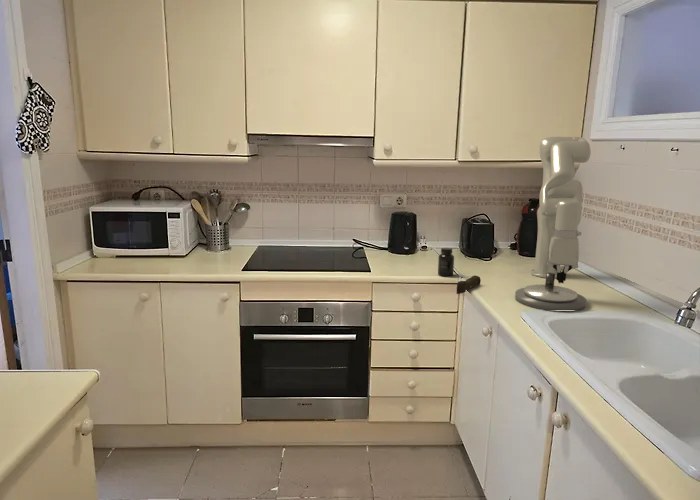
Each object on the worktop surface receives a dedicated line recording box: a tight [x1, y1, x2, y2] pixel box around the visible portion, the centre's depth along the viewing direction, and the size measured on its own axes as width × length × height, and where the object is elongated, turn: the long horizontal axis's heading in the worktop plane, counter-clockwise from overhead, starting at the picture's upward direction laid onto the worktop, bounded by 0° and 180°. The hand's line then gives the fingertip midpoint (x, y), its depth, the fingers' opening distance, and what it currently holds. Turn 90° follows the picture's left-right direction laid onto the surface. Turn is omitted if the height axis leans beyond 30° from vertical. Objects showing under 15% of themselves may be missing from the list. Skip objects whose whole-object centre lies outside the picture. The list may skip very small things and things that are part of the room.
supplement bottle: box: [437, 247, 455, 278], centre depth 210 cm, size 7×7×12 cm
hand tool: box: [456, 275, 482, 295], centre depth 189 cm, size 19×4×5 cm, turn 141°
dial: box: [523, 273, 579, 303], centre depth 173 cm, size 18×18×6 cm
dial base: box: [514, 287, 587, 311], centre depth 174 cm, size 24×24×2 cm
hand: (560, 282), depth 178 cm, fingers closed
